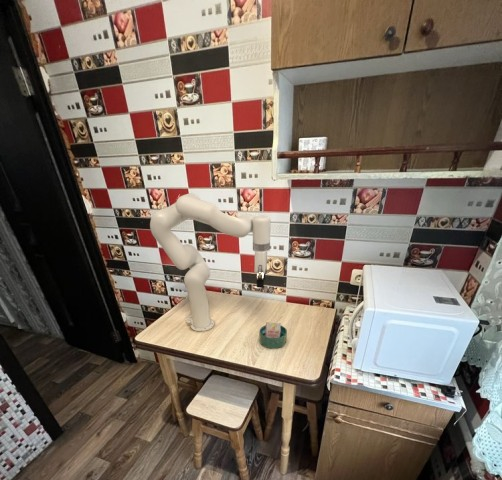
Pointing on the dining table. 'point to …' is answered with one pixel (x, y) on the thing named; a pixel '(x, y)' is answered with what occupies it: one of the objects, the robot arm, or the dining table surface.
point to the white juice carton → (273, 330)
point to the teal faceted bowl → (273, 341)
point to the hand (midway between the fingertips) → (261, 283)
